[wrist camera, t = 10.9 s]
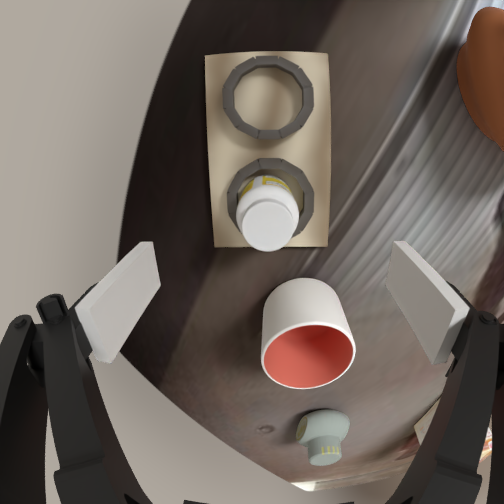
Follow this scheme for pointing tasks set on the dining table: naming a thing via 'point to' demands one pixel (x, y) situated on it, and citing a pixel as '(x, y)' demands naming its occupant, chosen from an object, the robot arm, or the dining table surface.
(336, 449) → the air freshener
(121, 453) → the robot arm
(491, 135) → the potted plant
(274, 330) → the cup
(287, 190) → the supplement bottle
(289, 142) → the caddy
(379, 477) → the dining table surface
